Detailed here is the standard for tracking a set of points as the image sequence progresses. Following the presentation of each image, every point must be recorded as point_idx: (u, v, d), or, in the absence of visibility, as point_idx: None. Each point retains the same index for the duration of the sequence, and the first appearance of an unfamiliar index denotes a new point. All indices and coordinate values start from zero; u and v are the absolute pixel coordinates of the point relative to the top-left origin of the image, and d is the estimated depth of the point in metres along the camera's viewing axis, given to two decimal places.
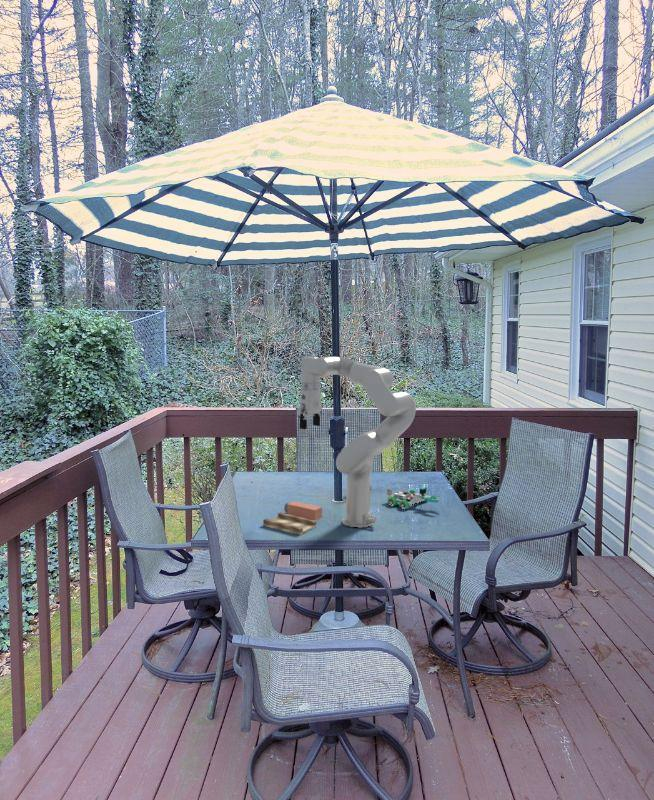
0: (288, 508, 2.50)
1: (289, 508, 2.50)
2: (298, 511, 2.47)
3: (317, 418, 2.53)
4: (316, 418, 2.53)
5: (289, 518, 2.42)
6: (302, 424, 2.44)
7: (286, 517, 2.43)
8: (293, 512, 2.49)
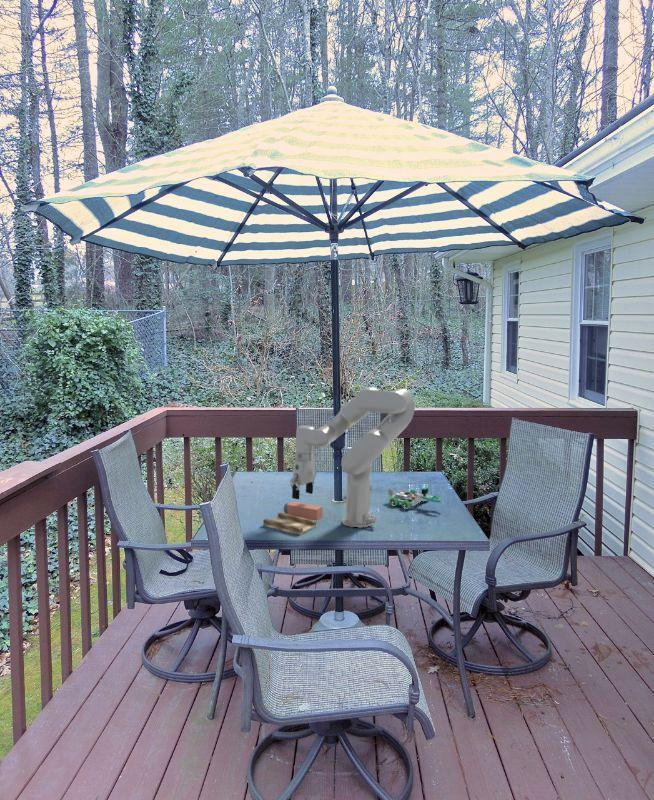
0: (288, 509, 2.49)
1: (289, 509, 2.49)
2: (299, 511, 2.47)
3: (310, 486, 2.51)
4: (309, 486, 2.51)
5: (289, 518, 2.42)
6: (295, 494, 2.43)
7: (286, 517, 2.43)
8: (293, 512, 2.48)
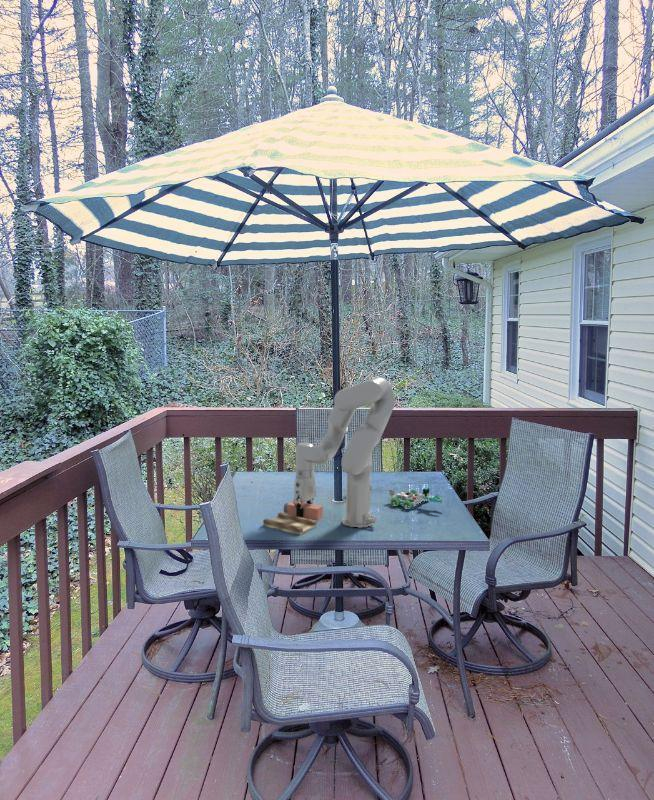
0: (288, 509, 2.49)
1: (289, 508, 2.48)
2: None
3: None
4: None
5: (289, 518, 2.42)
6: (299, 513, 2.45)
7: (286, 517, 2.43)
8: (294, 512, 2.48)
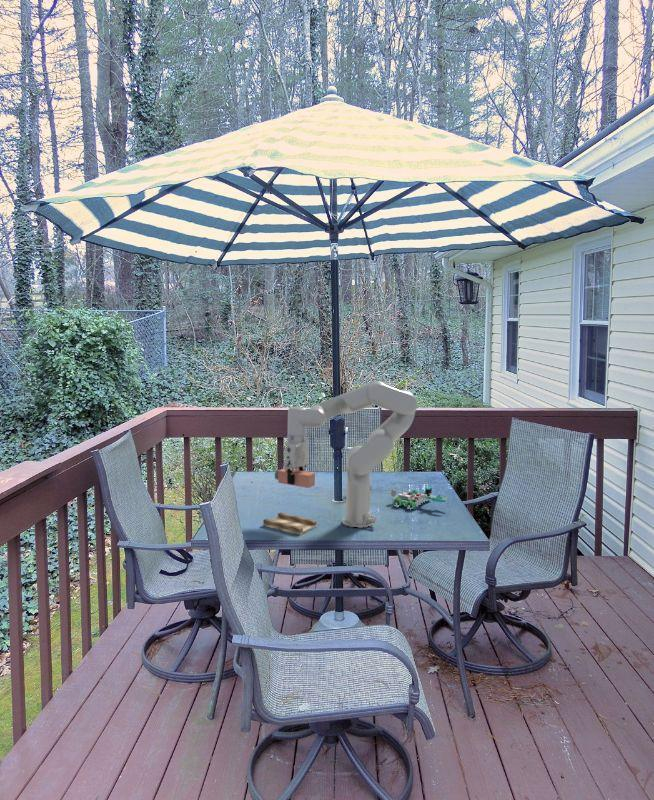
0: (279, 475, 2.40)
1: (280, 475, 2.40)
2: None
3: None
4: None
5: (289, 518, 2.42)
6: (290, 479, 2.36)
7: (286, 517, 2.43)
8: (285, 478, 2.39)
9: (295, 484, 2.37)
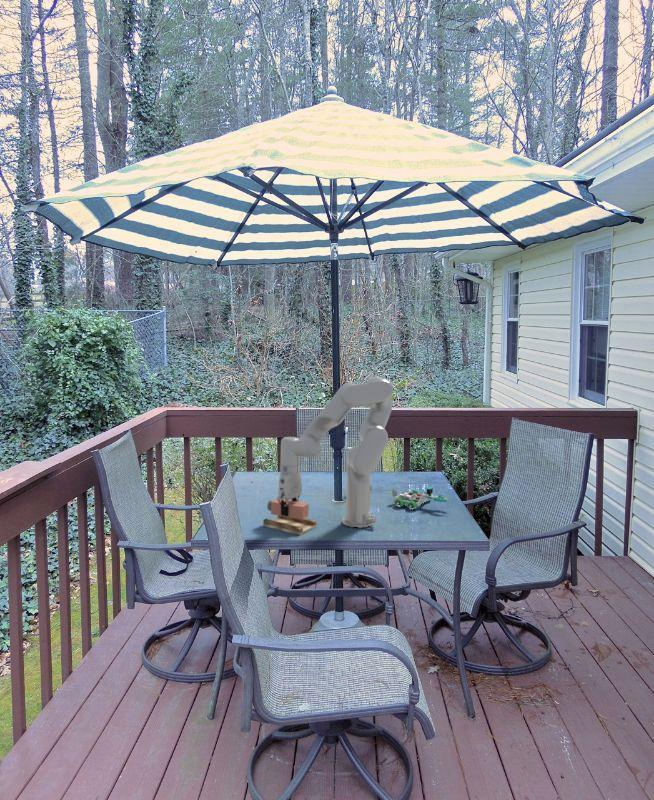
0: (272, 506, 2.36)
1: (273, 506, 2.36)
2: None
3: None
4: None
5: (289, 518, 2.42)
6: (283, 511, 2.32)
7: (286, 517, 2.43)
8: (278, 510, 2.35)
9: (289, 515, 2.33)
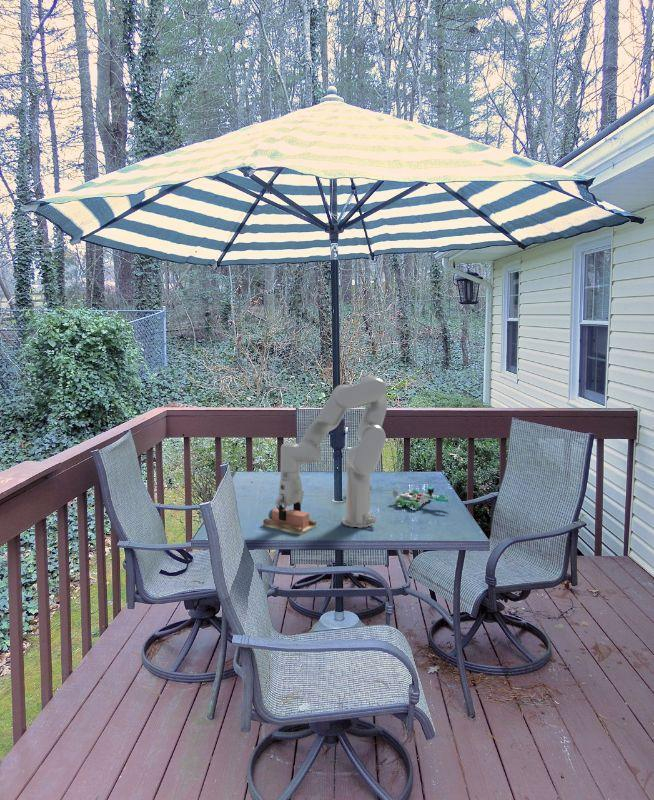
0: (273, 515, 2.37)
1: (274, 515, 2.37)
2: None
3: (298, 506, 2.39)
4: (297, 506, 2.40)
5: None
6: (281, 516, 2.31)
7: None
8: None
9: None
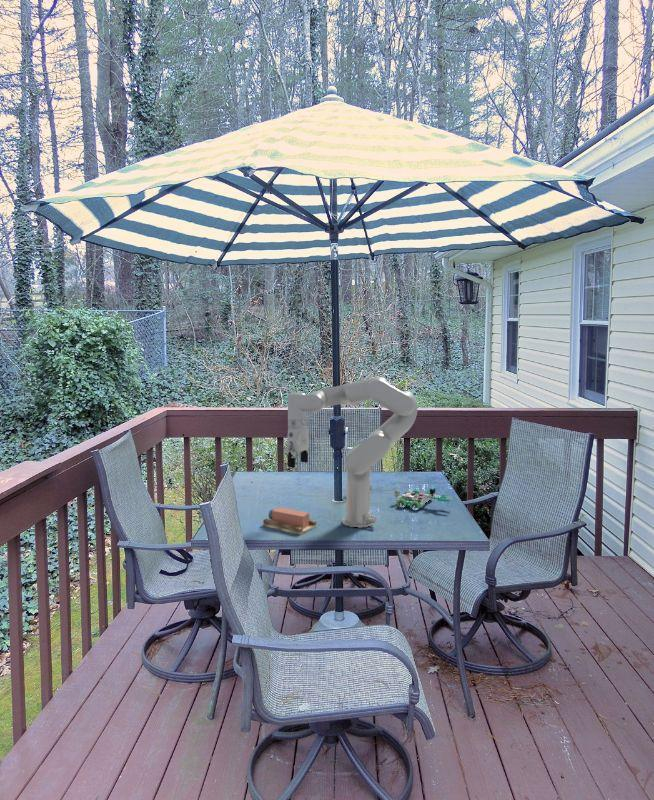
0: (273, 515, 2.37)
1: (274, 515, 2.37)
2: (284, 518, 2.35)
3: (305, 455, 2.46)
4: (304, 455, 2.46)
5: None
6: (290, 462, 2.37)
7: None
8: (279, 519, 2.36)
9: None
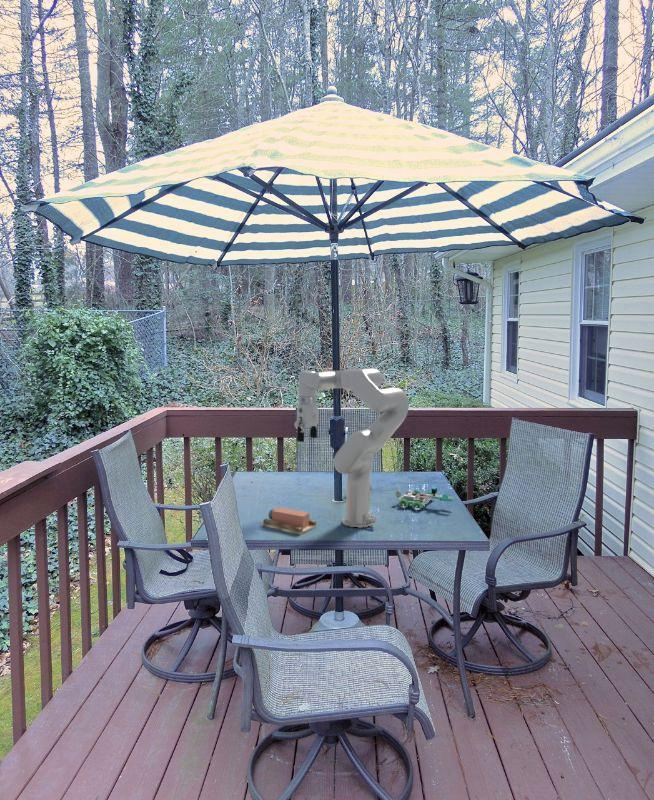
0: (273, 515, 2.37)
1: (274, 515, 2.37)
2: (284, 518, 2.35)
3: (314, 430, 2.59)
4: (313, 430, 2.59)
5: None
6: (299, 437, 2.51)
7: None
8: (279, 519, 2.36)
9: None
